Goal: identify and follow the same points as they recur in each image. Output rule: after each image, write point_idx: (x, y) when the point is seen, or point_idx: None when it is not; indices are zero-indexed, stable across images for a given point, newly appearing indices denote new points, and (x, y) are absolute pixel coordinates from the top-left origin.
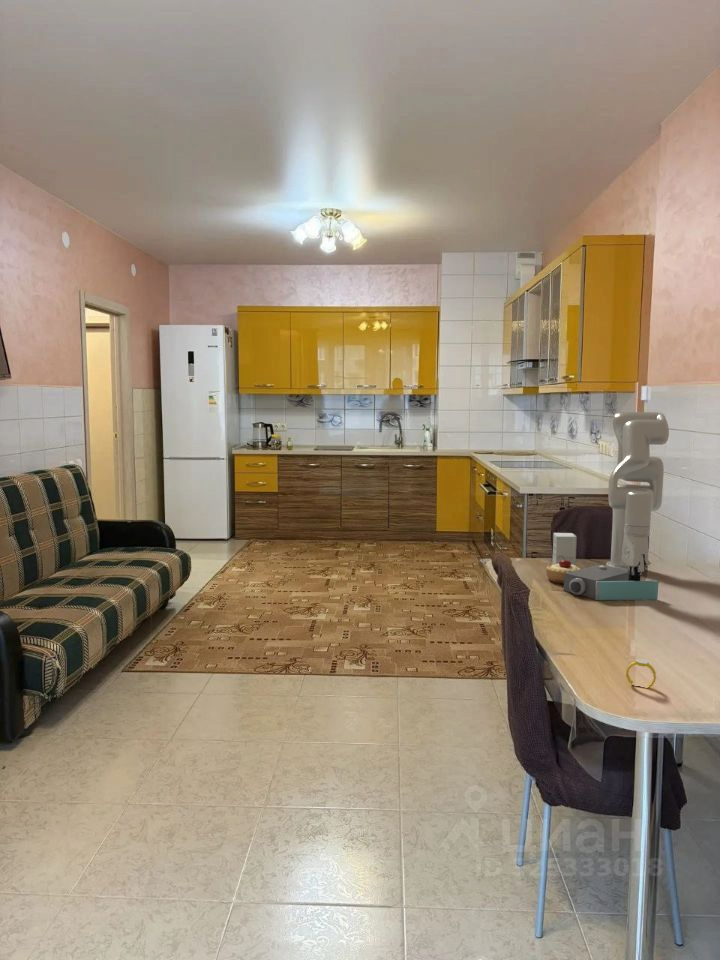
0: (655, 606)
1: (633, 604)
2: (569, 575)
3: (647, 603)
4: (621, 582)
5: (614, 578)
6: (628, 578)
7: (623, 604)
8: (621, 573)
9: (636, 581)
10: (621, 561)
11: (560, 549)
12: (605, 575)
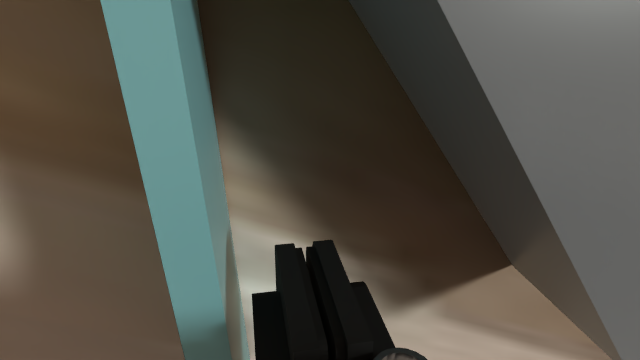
0: (17, 315)
1: (38, 154)
2: None
3: (107, 280)
4: (135, 129)
5: (490, 137)
6: (352, 290)
7: (9, 47)
8: (593, 271)
9: (190, 347)
10: None
11: None
12: (566, 6)
